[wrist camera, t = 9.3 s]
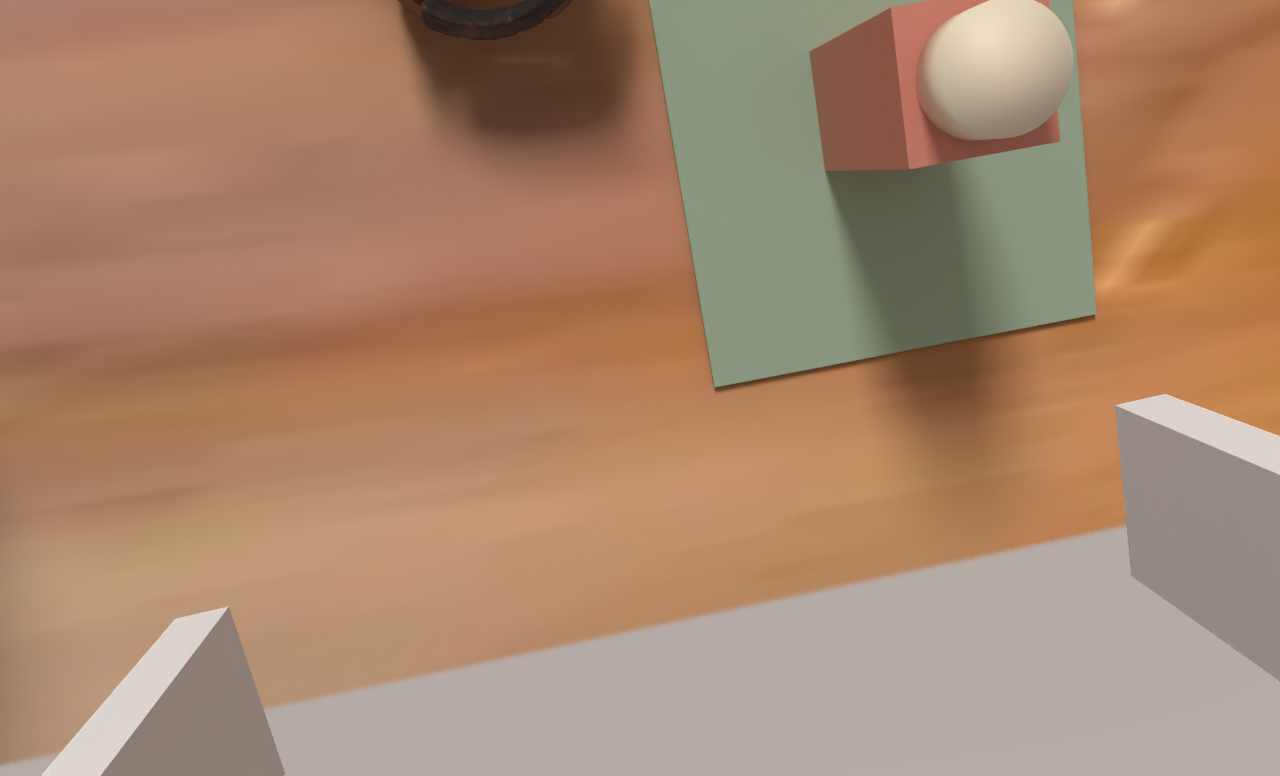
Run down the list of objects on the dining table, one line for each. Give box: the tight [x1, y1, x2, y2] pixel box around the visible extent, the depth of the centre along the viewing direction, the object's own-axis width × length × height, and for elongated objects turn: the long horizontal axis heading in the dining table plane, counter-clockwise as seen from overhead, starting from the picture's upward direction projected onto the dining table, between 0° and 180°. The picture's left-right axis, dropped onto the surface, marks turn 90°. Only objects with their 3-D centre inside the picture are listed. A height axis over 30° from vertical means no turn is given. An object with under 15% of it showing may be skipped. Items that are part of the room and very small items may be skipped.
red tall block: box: [809, 0, 1073, 171], centre depth 32 cm, size 4×4×12 cm
